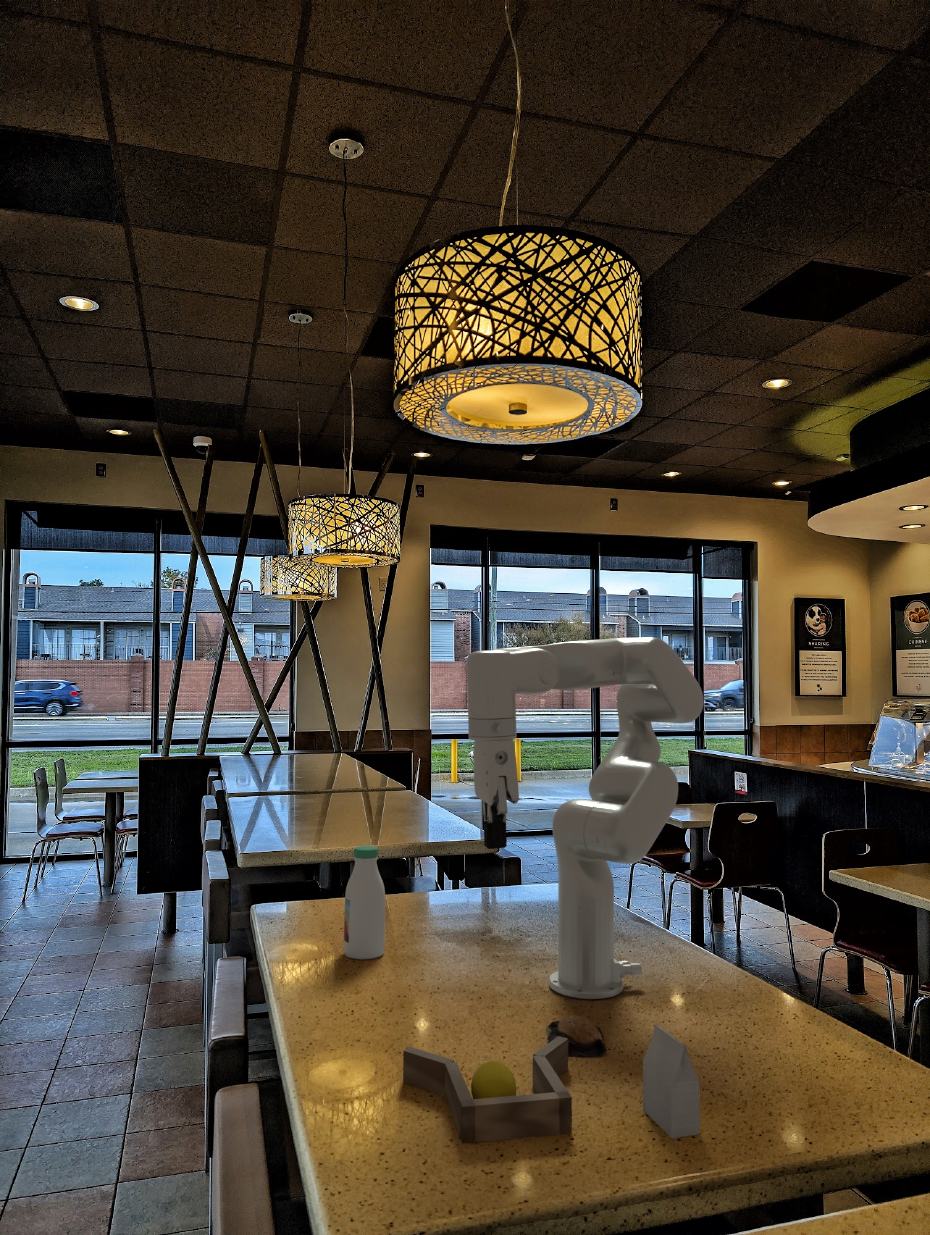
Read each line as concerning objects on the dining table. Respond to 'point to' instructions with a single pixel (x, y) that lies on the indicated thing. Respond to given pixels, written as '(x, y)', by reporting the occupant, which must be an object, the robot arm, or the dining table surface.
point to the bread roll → (579, 1036)
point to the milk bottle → (364, 907)
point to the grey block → (670, 1086)
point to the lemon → (493, 1081)
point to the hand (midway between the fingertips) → (495, 847)
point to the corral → (498, 1114)
